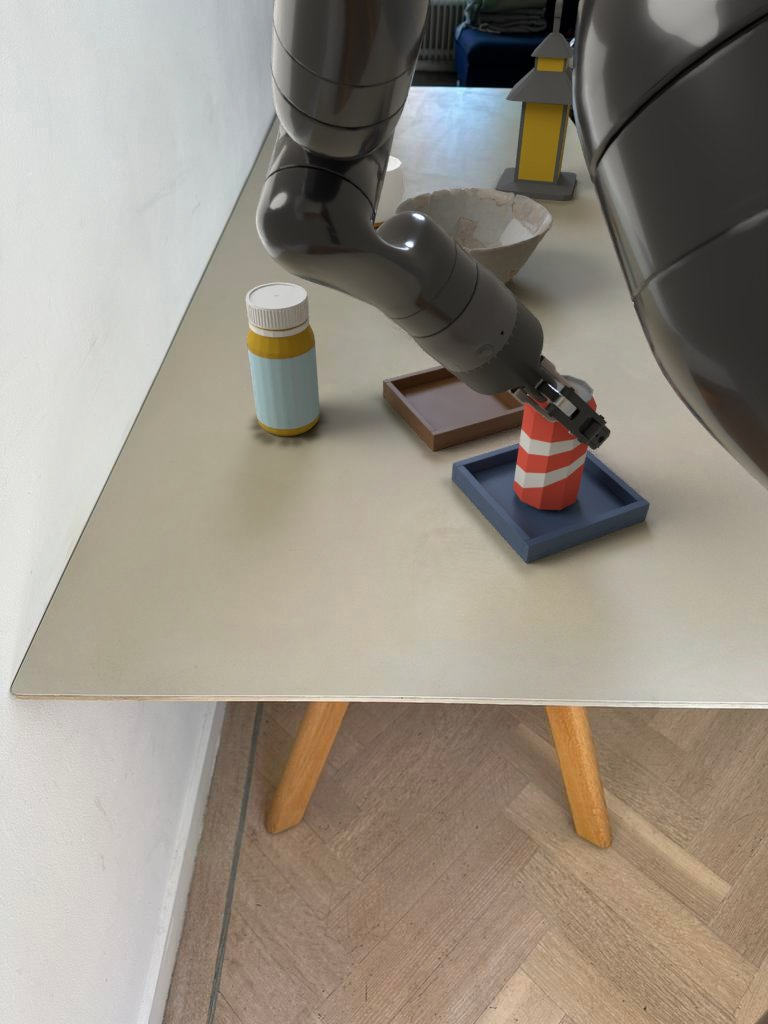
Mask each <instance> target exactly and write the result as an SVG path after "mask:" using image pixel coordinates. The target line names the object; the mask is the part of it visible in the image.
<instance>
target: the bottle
mask: <svg viewBox="0 0 768 1024" xmlns="http://www.w3.org/2000/svg"><path fill="white" fill-rule="evenodd" d="M245 306H246V314H247V319H248V326H249V328H248V332H247V336H246V342H247V345H246V346H247V352H248V362H249V368H250V375H251V383H252V384H251V385H252V390H253V398H254V407H255V414H256V418H257V423H258V424H259V426H260V427H261V428H262V429H263V430H264V431H266V432H268V433H270V434H271V435H275V436H279V437H293V436H299V435H301V434H305V433H306V432H308V431H310V430H311V429H312V428H313V427H314V426H316V424H317V423H318V421H319V419H320V416H321V415H320V414H321V413H320V412H321V409H320V407H321V406H320V395H319V393H320V392H319V380H318V379H319V378H318V377H319V376H318V365H317V349H316V339H315V338H316V337H315V333H314V330H313V328H312V326H311V324H310V309H309V295H308V293H307V290H306V288H304V287H302V286H300V285H298V284H295V283H292V282H283V281H282V282H281V281H280V282H278V281H277V282H268V283H264V284H260V285H256V286H254V287H253V288H251V289H250V290H248V292H247V293H246V295H245Z"/></svg>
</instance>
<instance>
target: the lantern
mask: <svg viewBox="0 0 768 1024" xmlns="http://www.w3.org/2000/svg"><path fill="white" fill-rule="evenodd" d="M554 6H555V7H554V14H553V18H554V19H553V27H552V32H550V33H549V34H547V36H545V38H544V39H543V41H541V43H540V44H538V46H537V47H536V48H535V49H534V51H533V52H532V53H531V55H530V56H531V57H533V58H534V57H535V59H534V67H533V68H532V69H530V71H528V72H527V73H526V74H525V75H524V76H523V77H522V78H520V79H519V81H518V82H516V83H515V84H514V85H513V87H512V89H511V90H510V92H509V93H508V94H507V96H506V98H505V100H506V101H509V102H521V109H520V110H521V111H520V120H519V129H518V139H517V147H516V156H515V157H516V158H515V165H514V167H505V168H504V170H503V172H502V174H501V176H500V178H499V180H498V182H497V184H496V186H495V190H496V191H501V192H506V193H514V195H515V196H516V195H517V194H518V195H522V196H526V197H528V198H530V199H539V200H550V201H559V202H560V201H562V202H564V201H565V202H566V201H570V200H571V199H572V195H573V192H574V189H575V184H576V181H577V174H576V173H574V172H571V171H562V168H563V167H562V166H563V161H564V160H563V159H564V151H565V144H566V138H567V131H568V125H569V119H570V109H571V106H573V95H572V68H571V67H570V66H569V63H570V59H573V52H574V48H573V47H572V45H571V44H570V43H569V41H568V40H567V39H566V38H565V36H564V35H563V33H560V27H561V19H562V13H563V7H564V0H555V5H554Z"/></svg>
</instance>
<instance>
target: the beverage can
mask: <svg viewBox="0 0 768 1024" xmlns="http://www.w3.org/2000/svg"><path fill="white" fill-rule="evenodd" d="M560 375H561V376H563V377H564V378H565V379H566V380H567V381H568V382H570V383H571V384H572V385H573V386H574V387H575V388H576V389H577V390H578V391H579V395H578V396H579V397H581V398H582V399H583V400H584V401H585V402H586V403H587V404H588V405H589V406H590V407H591V408H592V409H593V410H594V411H595V412H596V413H597V407H598V404H597V403H596V401H595V400H596V399H595V398H594V396H593V394H594V389H593V387H592V386H591V385H590V384H589V383H588V382H587V380H583V379H582V378H579V377H576V376H573V375H570V374H560ZM555 381H556V383H557V391H558V392H559V393H560V391H561V390H562V388H563V386H562V385H561V384H560V383H559V382H558V381H557V380H555ZM528 396H529V397H531V396H530V395H528ZM531 398H532V397H531ZM532 399H533V398H532ZM533 400H534V401H535V402H536V403H538V404H539V405H540V406H541V407H542V408H543V409H545V408H546V406H547V405H548V404H549V403H550V401H549V400H547V401H546V402H544V403H539V402H537V401H536V400H535V399H533ZM551 403H552V402H551ZM520 429H521V430H520V437H519V442H518V443H519V450H518V457H517V464H516V471H515V478H514V485H513V489H514V491H515V492H516V494H517V495H518V497H519V499H520V500H521V501H522V502H524V503H526V504H529V505H531V506H533V507H535V508H537V509H545V510H561V509H563V508H565V507H567V506H569V505H571V504H573V503H575V502H576V499H577V495H578V492H579V487H580V483H581V478H582V473H583V469H584V464H585V459H586V455H587V450H588V449H589V446H588V445H585V444H584V443H582V444H581V443H580V442H579V441H578V440H577V439H578V438H577V437H576V436H575V435H571V434H569V433H568V431H569V430H568V429H566V428H565V427H564V426H563V425H562V424H561V423H560V422H558V421H555V422H549V421H548V420H547V419H545V418H544V417H543V416H542V415H541V414H540V413H538V412H537V411H536V410H535V409H534V408H533V407H531V406H530V405H529V404H528V403H525V407H524V415H523V422H522V425H521V428H520ZM588 451H589V450H588Z"/></svg>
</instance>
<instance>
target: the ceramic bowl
mask: <svg viewBox="0 0 768 1024" xmlns="http://www.w3.org/2000/svg"><path fill="white" fill-rule="evenodd" d="M406 211H417V212H420V213H424V214H426V215H428V216H429V217H431V218H432V219H434V220H435V221H436V222H437V223H439V224H440V225H441V226H442V227H443V228H444V229H445V230H446V231H447V232H448V233H449V234H450V235H451V236H452V237H453V238H454V239H455V240H456V241H457V242H458V243H459V244H460V245H461V246H462V247H463V248H464V249H465V250H466V251H467V252H468V253H469V255H470V256H471V257H473V258H474V259H475V260H476V261H477V262H479V263H480V264H482V265H483V266H485V267H486V268H487V269H489V270H490V271H491V272H492V273H493V274H494V275H495V276H496V277H497V278H498V279H499V280H500V281H501V282H502V283H503V284H504V285H505V286H506V285H507V283H509V282H510V281H511V280H512V279H513V278H514V277H516V275H517V274H519V272H520V270H521V269H522V268H523V267H524V265H526V263H527V262H528V260H529V259H530V257H531V256H532V254H533V253H534V251H535V250H536V248H537V247H538V245H539V244H540V242H541V241H542V240H543V239H544V238H545V235H546V234H547V233H548V232H549V231H550V229H551V228H552V226H553V216H552V214H551V213H550V211H549V210H548V209H547V208H545V206H543V205H542V204H540V203H538V202H537V201H535V200H534V199H532V198H528V197H526V196H522V195H518V194H517V195H516V196H515V195H514V193H506V192H501V191H496V189H491V188H490V189H489V188H476V187H472V188H467V187H465V188H463V189H462V188H452V189H451V188H449V189H441V190H434V191H433V192H432V193H430V192H425V193H421V194H418V195H416V196H413V197H409V198H407V199H406V200H404V201H402V202H401V204H400V205H399V206H398V208H397V210H396V212H395V215H396V214H399V213H402V212H406Z"/></svg>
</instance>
